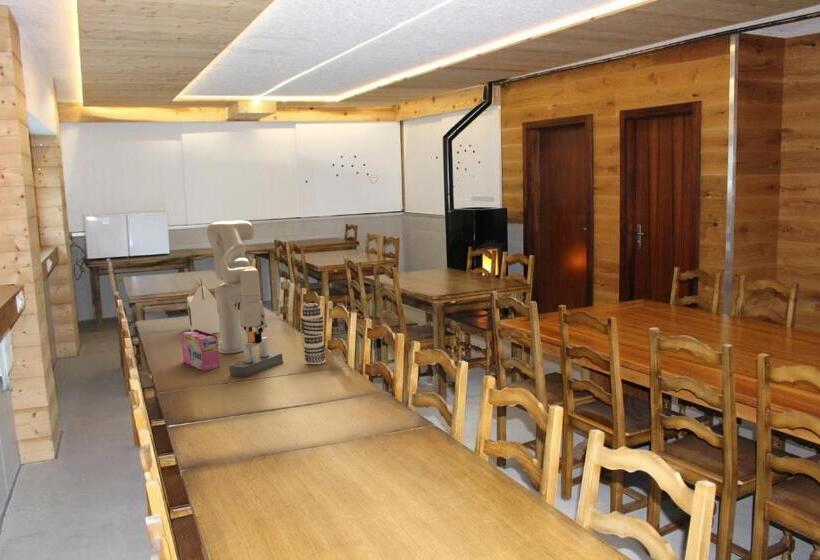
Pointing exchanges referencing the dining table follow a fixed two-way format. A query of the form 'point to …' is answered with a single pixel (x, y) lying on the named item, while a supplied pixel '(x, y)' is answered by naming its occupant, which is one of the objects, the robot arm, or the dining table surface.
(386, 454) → the dining table surface
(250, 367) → the grey block with holes
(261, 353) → the clip
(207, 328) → the gable box
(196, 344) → the gum box
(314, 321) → the decorative candle
